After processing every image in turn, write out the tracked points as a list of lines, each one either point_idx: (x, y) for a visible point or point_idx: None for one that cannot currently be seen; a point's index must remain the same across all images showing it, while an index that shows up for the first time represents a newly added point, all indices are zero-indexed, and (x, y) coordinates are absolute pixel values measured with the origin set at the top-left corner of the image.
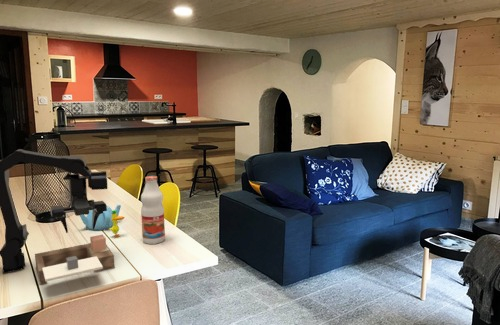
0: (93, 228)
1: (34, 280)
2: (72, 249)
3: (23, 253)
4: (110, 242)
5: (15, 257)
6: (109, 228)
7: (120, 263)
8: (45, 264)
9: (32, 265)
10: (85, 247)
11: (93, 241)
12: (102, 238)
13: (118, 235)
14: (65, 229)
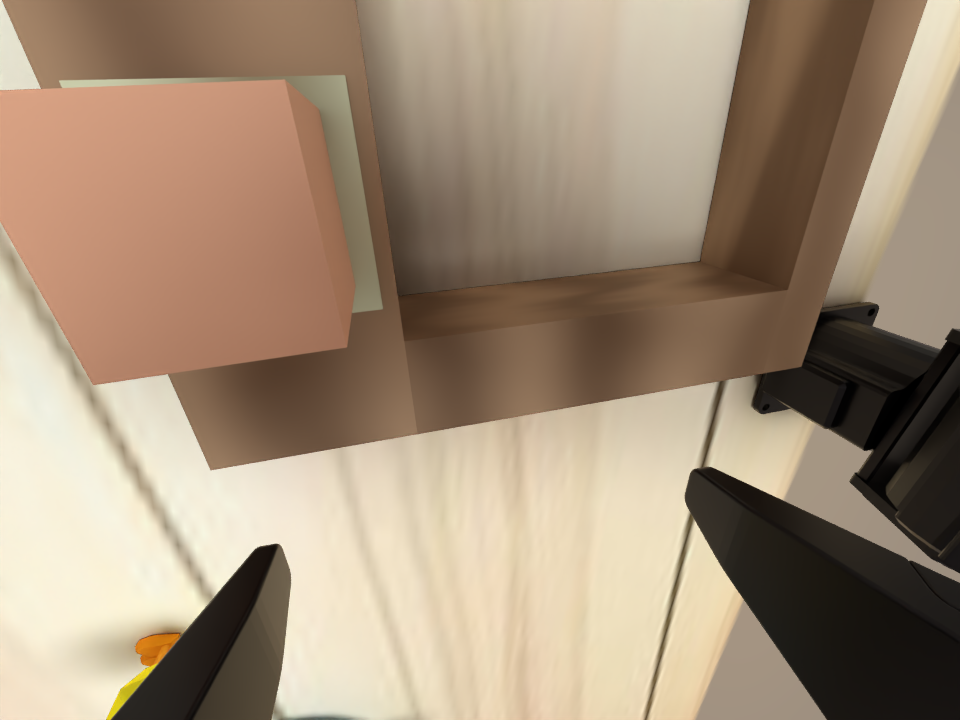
0: (264, 553)
1: None
2: (541, 346)
3: (833, 413)
4: (209, 561)
5: (904, 353)
6: None
7: (4, 9)
8: (709, 272)
9: None
10: (415, 348)
11: (275, 85)
12: (33, 120)
13: (143, 649)
14: (781, 502)
